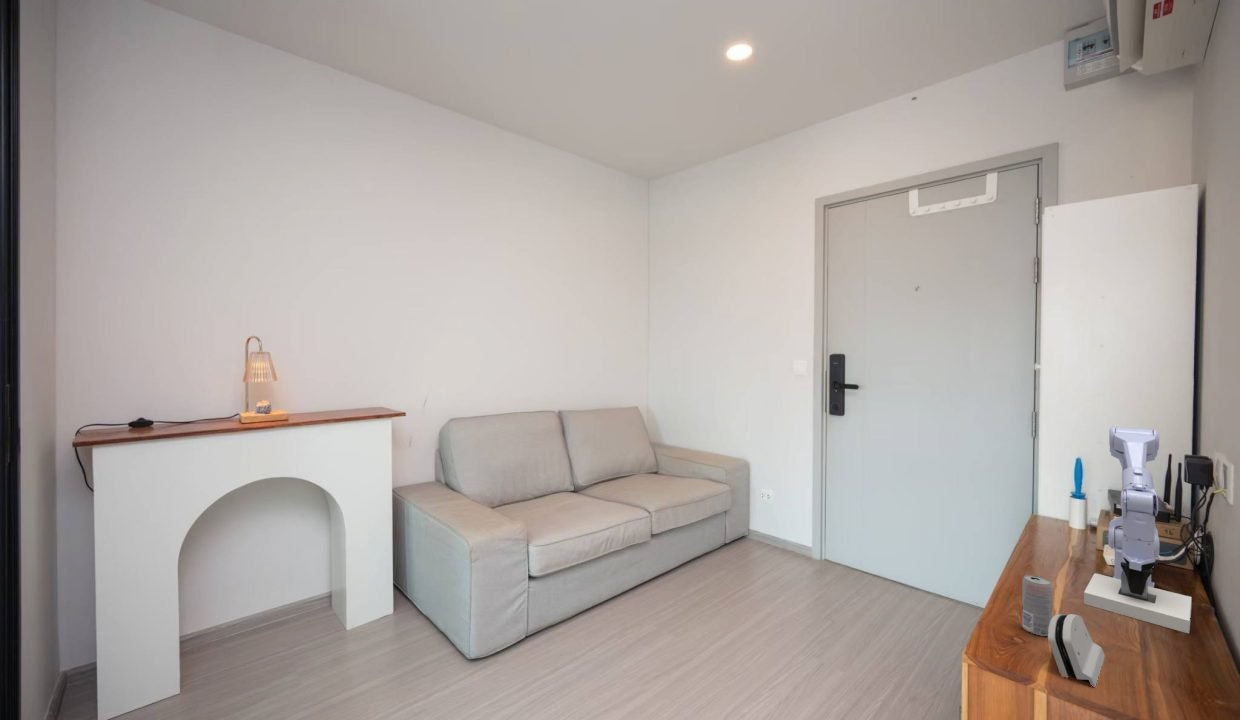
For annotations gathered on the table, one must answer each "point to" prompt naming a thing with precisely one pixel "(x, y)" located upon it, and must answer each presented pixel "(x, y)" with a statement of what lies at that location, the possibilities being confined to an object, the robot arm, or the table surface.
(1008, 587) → the table surface
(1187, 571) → the table surface
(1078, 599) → the table surface
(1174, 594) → the hole board
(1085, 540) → the table surface
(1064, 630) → the grey black angular block
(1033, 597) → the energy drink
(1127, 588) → the square peg
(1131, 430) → the robot arm
